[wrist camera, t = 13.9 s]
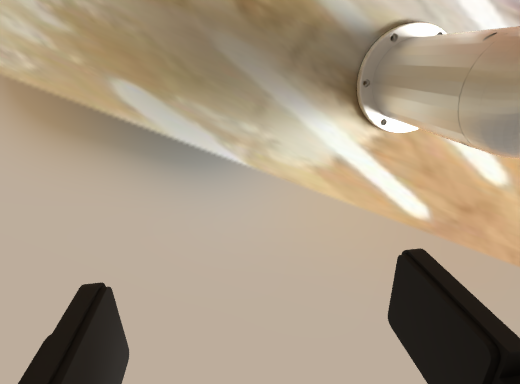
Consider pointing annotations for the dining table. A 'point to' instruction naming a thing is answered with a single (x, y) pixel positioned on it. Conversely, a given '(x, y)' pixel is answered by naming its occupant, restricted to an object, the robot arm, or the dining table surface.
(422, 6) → the dining table surface
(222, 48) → the dining table surface
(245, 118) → the dining table surface
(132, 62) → the dining table surface
